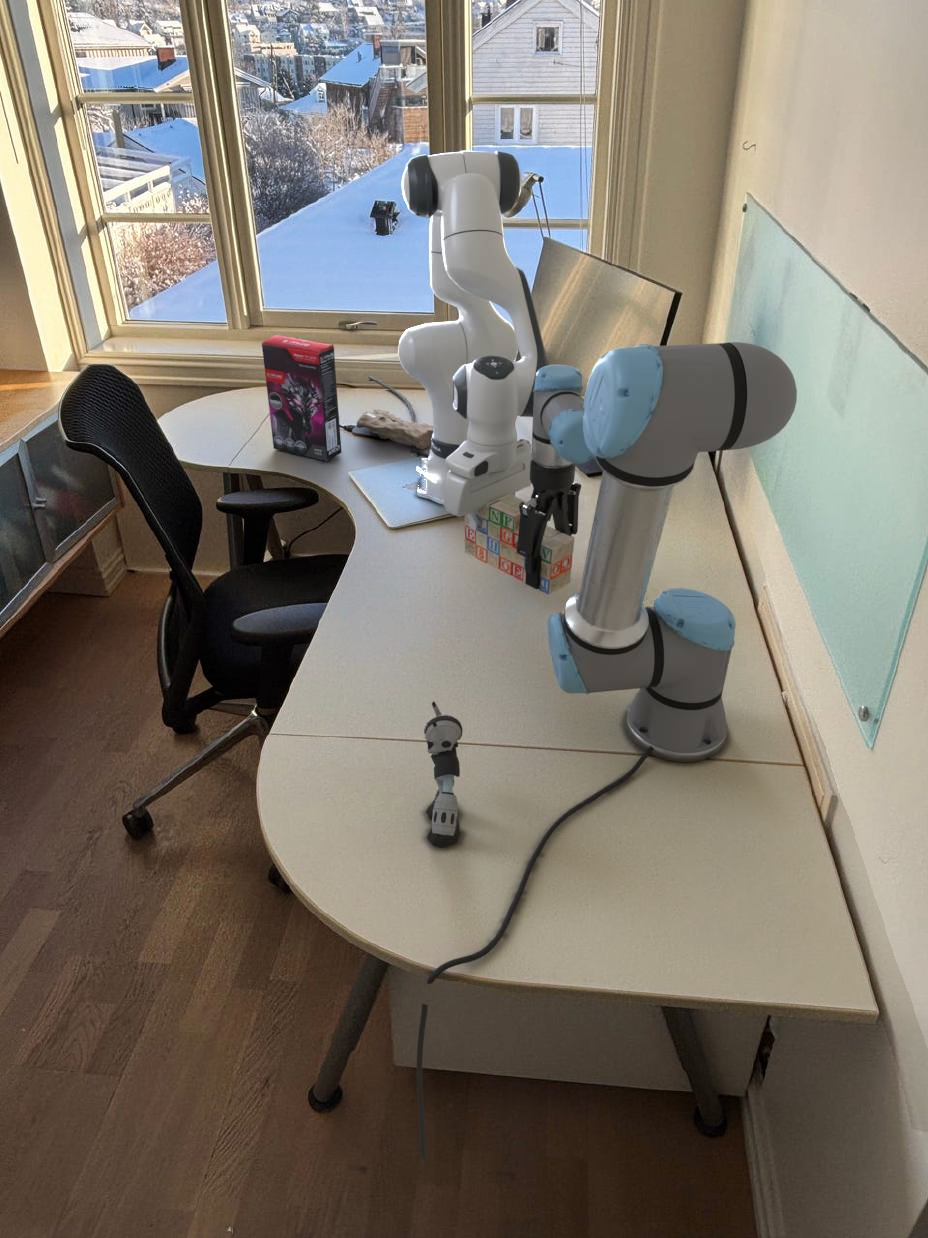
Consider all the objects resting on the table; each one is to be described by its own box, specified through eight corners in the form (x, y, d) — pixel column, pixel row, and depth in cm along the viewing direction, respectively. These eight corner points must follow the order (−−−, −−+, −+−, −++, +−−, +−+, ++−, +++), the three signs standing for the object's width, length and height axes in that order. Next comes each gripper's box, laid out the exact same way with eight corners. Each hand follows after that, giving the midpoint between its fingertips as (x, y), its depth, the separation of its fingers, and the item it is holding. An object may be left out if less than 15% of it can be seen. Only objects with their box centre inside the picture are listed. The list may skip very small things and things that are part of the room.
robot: (465, 880, 118) (466, 765, 107) (427, 882, 118) (424, 766, 107) (458, 774, 134) (458, 664, 123) (424, 775, 134) (422, 665, 123)
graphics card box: (271, 449, 231) (258, 341, 215) (288, 440, 236) (276, 333, 220) (327, 463, 224) (318, 352, 209) (343, 453, 229) (336, 344, 214)
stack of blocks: (571, 583, 166) (576, 522, 159) (548, 596, 163) (552, 534, 156) (486, 541, 179) (488, 483, 172) (463, 552, 175) (464, 493, 168)
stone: (340, 433, 232) (345, 409, 229) (362, 424, 245) (367, 402, 243) (418, 457, 228) (423, 433, 226) (436, 447, 241) (441, 425, 239)
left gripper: (518, 430, 171) (515, 497, 179) (437, 462, 159) (438, 533, 167) (543, 440, 167) (539, 508, 175) (463, 473, 155) (463, 545, 163)
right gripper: (572, 438, 161) (563, 553, 174) (497, 470, 150) (493, 590, 163) (606, 450, 157) (595, 567, 170) (531, 484, 145) (524, 607, 158)
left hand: (489, 520), depth 171 cm, fingers closed on stack of blocks, 6 cm apart
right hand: (545, 578), depth 166 cm, fingers closed on stack of blocks, 6 cm apart
